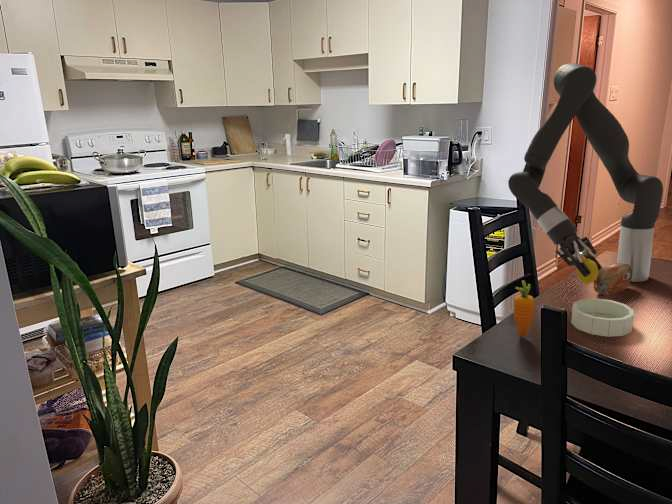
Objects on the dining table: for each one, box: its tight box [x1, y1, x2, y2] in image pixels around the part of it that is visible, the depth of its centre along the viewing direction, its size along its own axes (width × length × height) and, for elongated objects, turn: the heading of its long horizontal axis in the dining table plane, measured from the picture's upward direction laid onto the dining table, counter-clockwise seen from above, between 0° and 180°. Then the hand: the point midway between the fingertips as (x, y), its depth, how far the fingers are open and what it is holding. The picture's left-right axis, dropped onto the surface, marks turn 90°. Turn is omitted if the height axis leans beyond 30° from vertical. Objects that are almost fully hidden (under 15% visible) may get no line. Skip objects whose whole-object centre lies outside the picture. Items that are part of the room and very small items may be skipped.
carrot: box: [513, 280, 536, 339], centre depth 126 cm, size 5×5×15 cm
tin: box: [593, 262, 632, 297], centre depth 154 cm, size 15×3×8 cm, turn 117°
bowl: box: [570, 298, 635, 338], centre depth 133 cm, size 14×14×4 cm
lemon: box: [576, 259, 598, 286], centre depth 146 cm, size 6×6×8 cm
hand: (593, 272), depth 145 cm, fingers closed on lemon, 5 cm apart
